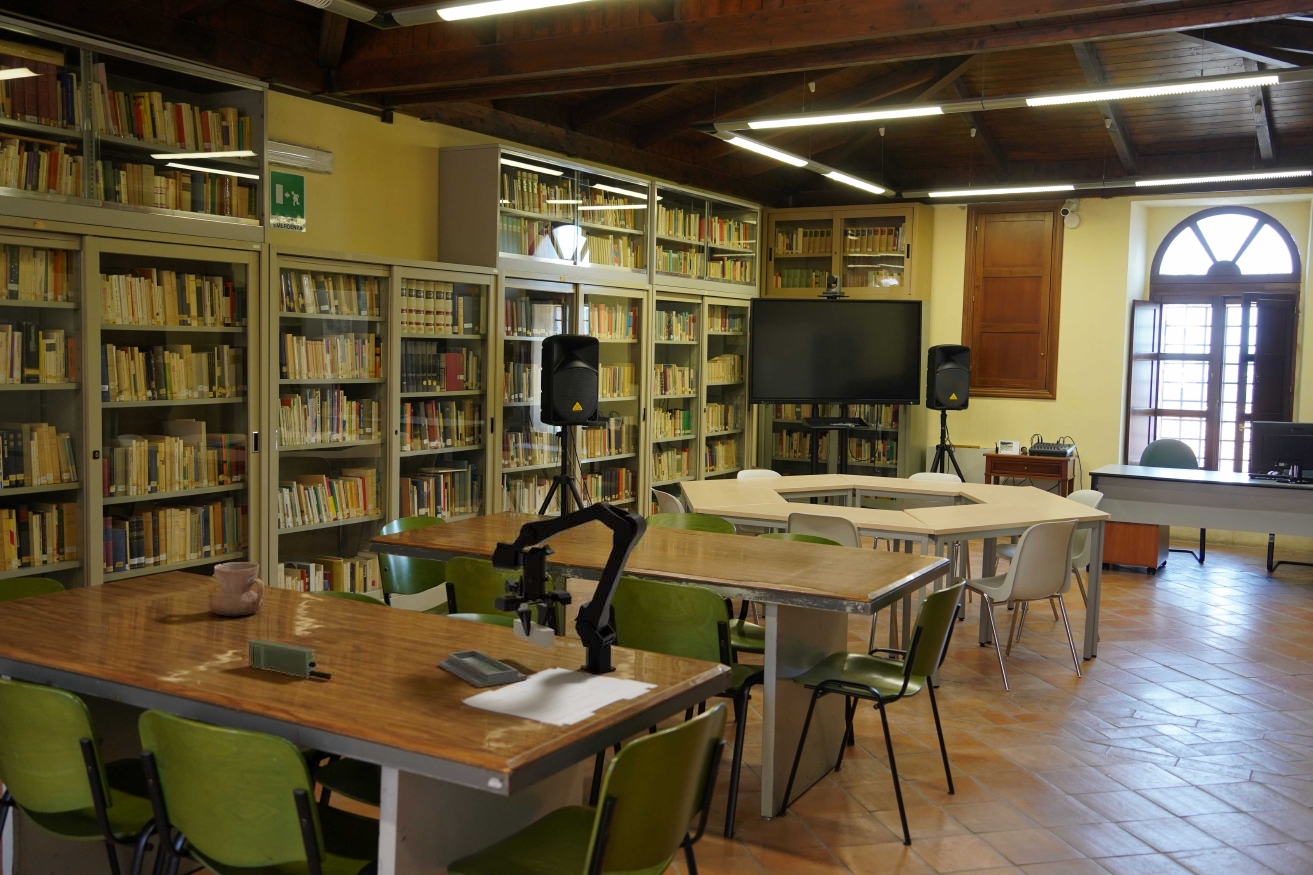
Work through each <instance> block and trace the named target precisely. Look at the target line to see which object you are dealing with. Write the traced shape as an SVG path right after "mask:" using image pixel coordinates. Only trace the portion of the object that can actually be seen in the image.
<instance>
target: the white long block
mask: <svg viewBox="0 0 1313 875" xmlns="http://www.w3.org/2000/svg"><path fill="white" fill-rule="evenodd" d="M513 636H514V637H517V638H519V639H522V640H524V641H525V642H529V643H530V644H532V645H535V646H538V647H539V648H542V649H545V648H554V647H555V629H552V628H551V627H548V626H546V625H545V626H543V625H540V624H538V622H535V621H533V620H531V626H530V634H529V636H526V635H525V632H524V629H523V626H522V623H521V620H520V618H516V619H514V618H513Z"/></svg>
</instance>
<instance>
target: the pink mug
mask: <svg viewBox="0 0 1313 875" xmlns="http://www.w3.org/2000/svg"><path fill="white" fill-rule="evenodd" d="M213 569H214V570H213V571H214V573H213V575H212V577H213V578H214V579H216V581H217V584H218V586H219V589H220V592H219V593H218V594H216V595H215V596H214V597H212V598H211V600H210V601H209V604H208V606H209V608H210V610H211V611H212V612H213V613H214V614H217V615H219V616H223V615H224V616H223V617H240V616H239V615H244V616H248V615H247V614H249V615H251V614H254V613H256V612H258V611H260V610H261V609H262V608H263V605H264V600H263V596H264V594H265V583H264V581H263V580H262V579H260V578H258V573H259V571H260V570H259V569H260V564H258V563H255V562H249V561H248V562H243V561H240V562H237V561H236V562H234V561H233V562H226V563H222V564H220V563H219V564H216V565H214V566H213ZM255 584H257V588H258V589H257V590H258V591H257V593H256V592H255V591H254V590H253V588H254V586H255Z"/></svg>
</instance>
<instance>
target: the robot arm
mask: <svg viewBox="0 0 1313 875" xmlns="http://www.w3.org/2000/svg"><path fill="white" fill-rule="evenodd" d="M595 520H597V521H599V522H600V523H602V524H603V525H604V526H606V527H607V528H609V529H610V530H612V531H613V534H612V548H611V552H610V553H609V555H608V556H609V557H608V559H607V562H606V564H605V566H604V568H603V571H602V574H601V576H600V579H599V581H598V584H597V585H596V588H595V591H594V594H593V596H592V598H591V600H589V601H587V602H585V603H583V604H581V605H580V607H579V609H578V613H577V616H576V617H575V618H574V619H573V621H574V622H575V625H574V630H575V631H576V634H577V636H579V638H580V642H581V644H582V647H583V648H585V664H584V665H583V664H582V665H580V669H582V670H584V671H587V672H589V673H591V674H600V673H606V672H613V671H617V667H615V666H612V645H611V643H612V642H614V641H615V639H616V636H617V632H616V631H615V630H614V629H613V627H612V626H611V625H610V624H609V619H610V604H611V601H612V599H613V597H614V594H615V591H616V589H617V587H618V584H619V582H620V580H621V576H622V574H623V572H624V570H625V568H626V565H627V562H628V560H629V558H630V555H631V553H632V552H633V550H634V549H635V548H636V546H637V545H638V544H639V542H640V541H641V540H642V538H643V537H644V535H645V533H646V531H647V529H648V523H647V521H646V518H645V517H644V516H643V515H641V514H640V513H637V512H633V513H631V512H630V511H628V510H626V509H623V508H620V507H618V506H615V505H613V504H611V503H609V502H608V501H605V500H602V501H597V502H595V503H593V504H591V505H589V506H586V507H583V508H580V509H578V510H574V511H571V512H569V513H566V514H563V515H559V516H558V517H551V518H544V519H538V520H534V521H530V522H526V523H524V524H522V526H521V527H520V530H519V535H518V536H517V537H516V539H515V541H514V542H513V543H512V542H506V541H499V542H496V548H494V551H493V554H492V557H491V563H492V567H493V568H494V569H495V570H503V571H513V572H514V571H519V570H520V569H521V568H522V574H521V575H519V580H518V581H515V579H507V580H505V581H504V592H505V594H507V595H501V596H497V597H496V599H495V601H494V609H496V610H500V611H502V612H504V613H507V612H509V613H510V612H515V613H516V615H517V616H518V619H520V620H521V623H522V626H523V629H524V632H525V635H526V636H529V634H530V626H531V621H532V612H533V611H532V610H531V609H529V606H531V605H535V606H536V609H537V623H538V624H540V625H543V626H545V627H546V625H547V622H548V621H549V619H550V618H551V616H552V614H553V612H554V611H555V610H558V607H557V606H555V602H558V603H559V604H560V605H561V606H568V605H572V604H573V597H572V594H571V593H570V592H569V591H565V590H562V589H555V590H549V591H548V592H547V588H546V587H547V583H548V582H550V580H549V578H550V577H548V576H547V557H548V556H551V555H554V554H556V551H555V550H554V549H553V548H551V546H550V545H549V544H545V545H543V546H542V547H540V546H537V545H541V544H543V543H545V542H547V541H549V540H551V539H553V538H554V537H556V536H558V535H559V534H560V533H562V532H564V531H567V530H571V529H573V528H576V527H579V526H582V525H584V524H588V523H590V522H593V521H595ZM528 547H531V548H530V549H526V548H528ZM508 594H511V595H508Z"/></svg>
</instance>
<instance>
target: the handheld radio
mask: <svg viewBox="0 0 1313 875" xmlns="http://www.w3.org/2000/svg"><path fill="white" fill-rule="evenodd" d="M316 651H317V649H312V648H307V647H301V646H296V645H290V644H285V643H279V642H273V641H269V640H268V641H267V640H263V639H257V638H253V639H251V640H248V661H249V663H248V664H249V666H254V667H258V668H265V669H270V670H275V671H280V672H285V673H290V674H294V675H300V676H304V677H310V676H313V677H312V678H314V676H315V678H320V679H324V680H325V679H326V680H330V679H331V678H332V674H331V673H327V672H323V671H317V670H316V669H315V667H316V666H317V663H316V662H315V658H316V654H315V652H316Z"/></svg>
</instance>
